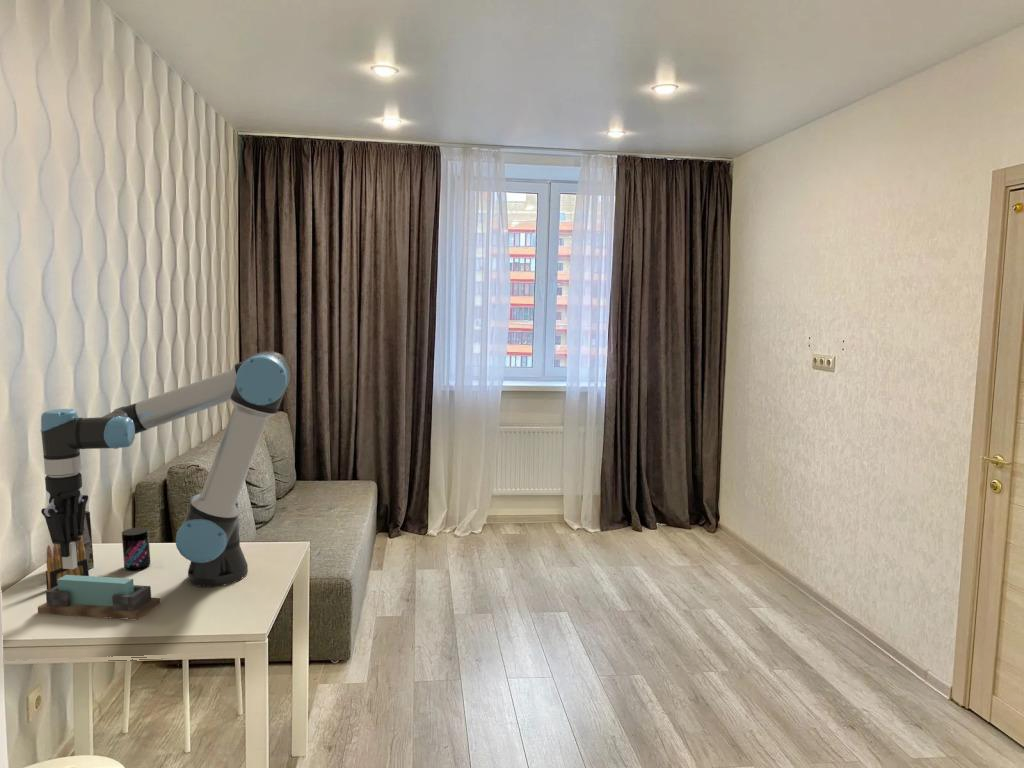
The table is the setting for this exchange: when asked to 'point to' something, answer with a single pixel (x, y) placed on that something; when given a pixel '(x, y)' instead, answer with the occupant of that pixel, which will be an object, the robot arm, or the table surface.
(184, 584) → the table surface
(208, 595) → the table surface
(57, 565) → the ammunition clip
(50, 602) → the frame
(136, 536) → the supplement container
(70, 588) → the slat
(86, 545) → the coffee box
